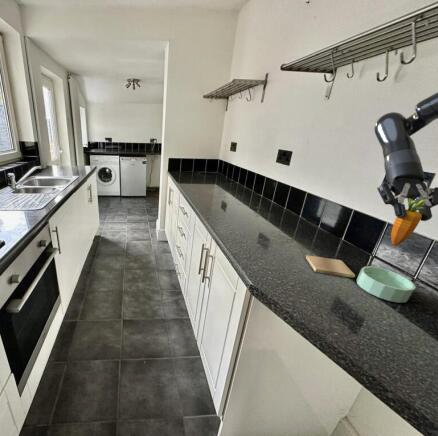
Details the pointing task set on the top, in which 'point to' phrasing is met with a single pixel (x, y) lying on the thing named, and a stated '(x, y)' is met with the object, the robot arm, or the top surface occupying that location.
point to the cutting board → (329, 266)
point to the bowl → (385, 284)
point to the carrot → (406, 223)
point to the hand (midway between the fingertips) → (414, 218)
